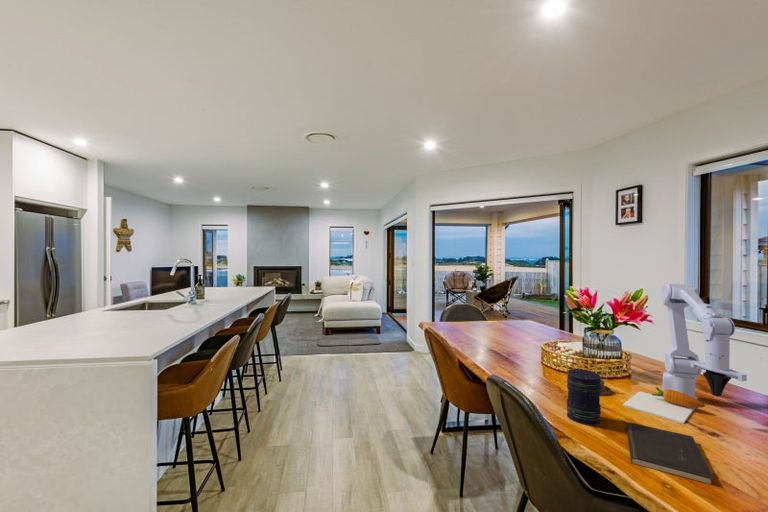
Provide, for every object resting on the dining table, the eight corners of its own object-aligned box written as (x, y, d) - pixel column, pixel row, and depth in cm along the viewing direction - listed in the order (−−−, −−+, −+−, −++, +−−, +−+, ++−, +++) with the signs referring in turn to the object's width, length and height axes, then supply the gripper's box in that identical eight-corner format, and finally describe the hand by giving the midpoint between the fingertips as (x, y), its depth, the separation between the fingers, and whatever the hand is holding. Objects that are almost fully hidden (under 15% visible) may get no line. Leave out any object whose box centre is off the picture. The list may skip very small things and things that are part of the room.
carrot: (707, 399, 122) (655, 385, 134) (704, 397, 120) (651, 383, 132) (705, 414, 121) (653, 398, 133) (702, 412, 119) (649, 396, 131)
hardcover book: (692, 444, 102) (692, 436, 102) (713, 487, 82) (713, 478, 82) (626, 428, 110) (626, 421, 110) (630, 465, 91) (631, 456, 91)
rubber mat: (622, 405, 126) (622, 404, 126) (639, 392, 139) (639, 391, 139) (683, 423, 113) (683, 422, 113) (695, 407, 126) (695, 405, 126)
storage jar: (600, 416, 118) (601, 363, 118) (601, 428, 109) (601, 371, 109) (567, 409, 123) (567, 358, 123) (565, 420, 114) (566, 366, 114)
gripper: (754, 359, 108) (753, 403, 108) (701, 347, 122) (701, 386, 122) (737, 361, 106) (737, 405, 106) (686, 348, 120) (685, 387, 120)
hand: (716, 395), depth 114 cm, fingers closed
